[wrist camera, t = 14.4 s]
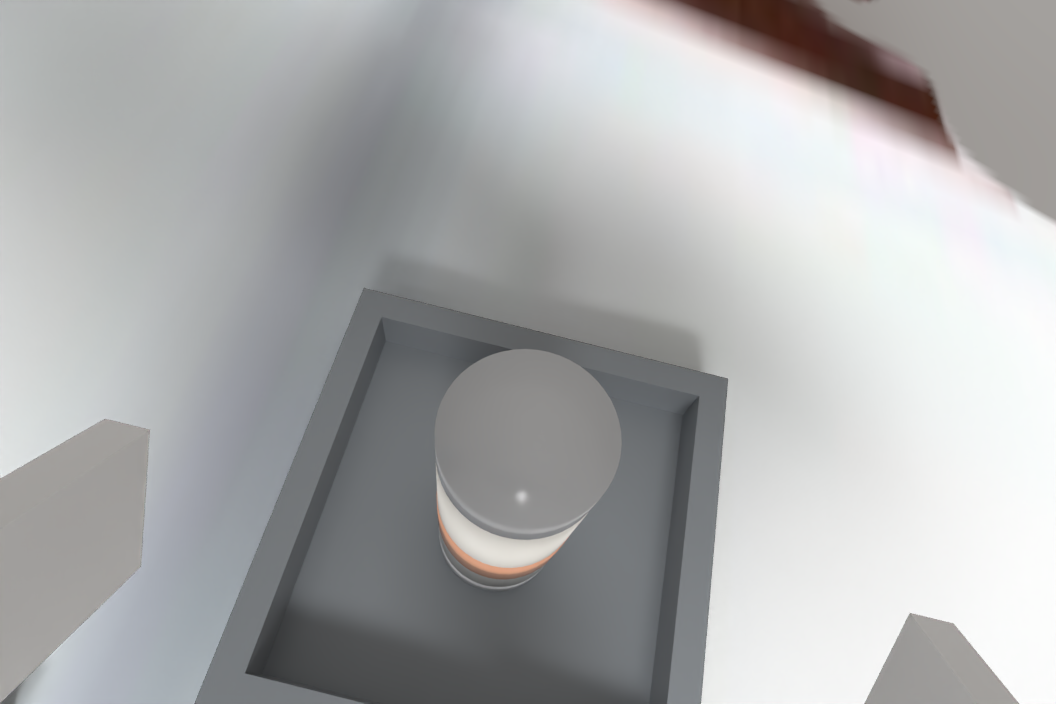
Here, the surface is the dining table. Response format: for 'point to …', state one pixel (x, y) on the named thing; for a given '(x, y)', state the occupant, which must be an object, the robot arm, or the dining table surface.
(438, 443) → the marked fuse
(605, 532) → the charcoal tray
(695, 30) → the dining table surface
